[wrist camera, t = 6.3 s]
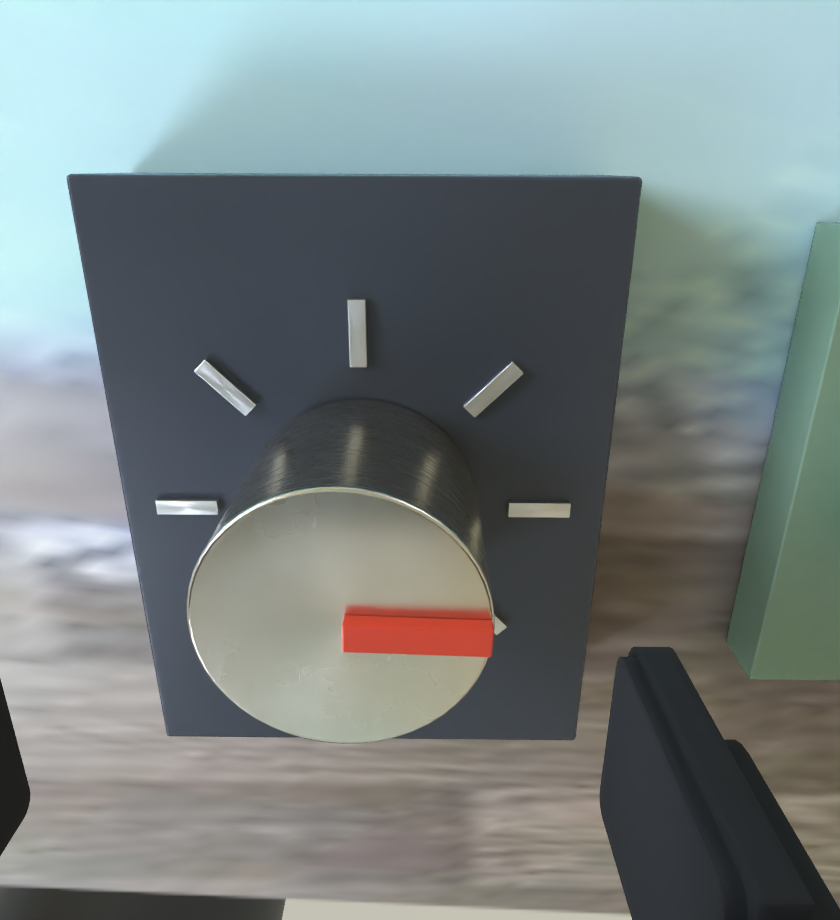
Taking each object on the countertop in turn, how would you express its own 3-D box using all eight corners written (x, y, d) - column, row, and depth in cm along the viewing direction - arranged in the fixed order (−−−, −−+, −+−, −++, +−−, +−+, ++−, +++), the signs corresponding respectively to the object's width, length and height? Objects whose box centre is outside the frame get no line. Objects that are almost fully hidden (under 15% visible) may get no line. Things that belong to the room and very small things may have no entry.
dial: (255, 598, 17) (194, 753, 12) (241, 393, 15) (163, 490, 10) (469, 606, 17) (485, 763, 12) (485, 402, 15) (510, 503, 10)
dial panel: (556, 666, 21) (576, 746, 18) (200, 663, 21) (163, 741, 18) (606, 174, 16) (646, 176, 13) (126, 172, 16) (59, 174, 13)
